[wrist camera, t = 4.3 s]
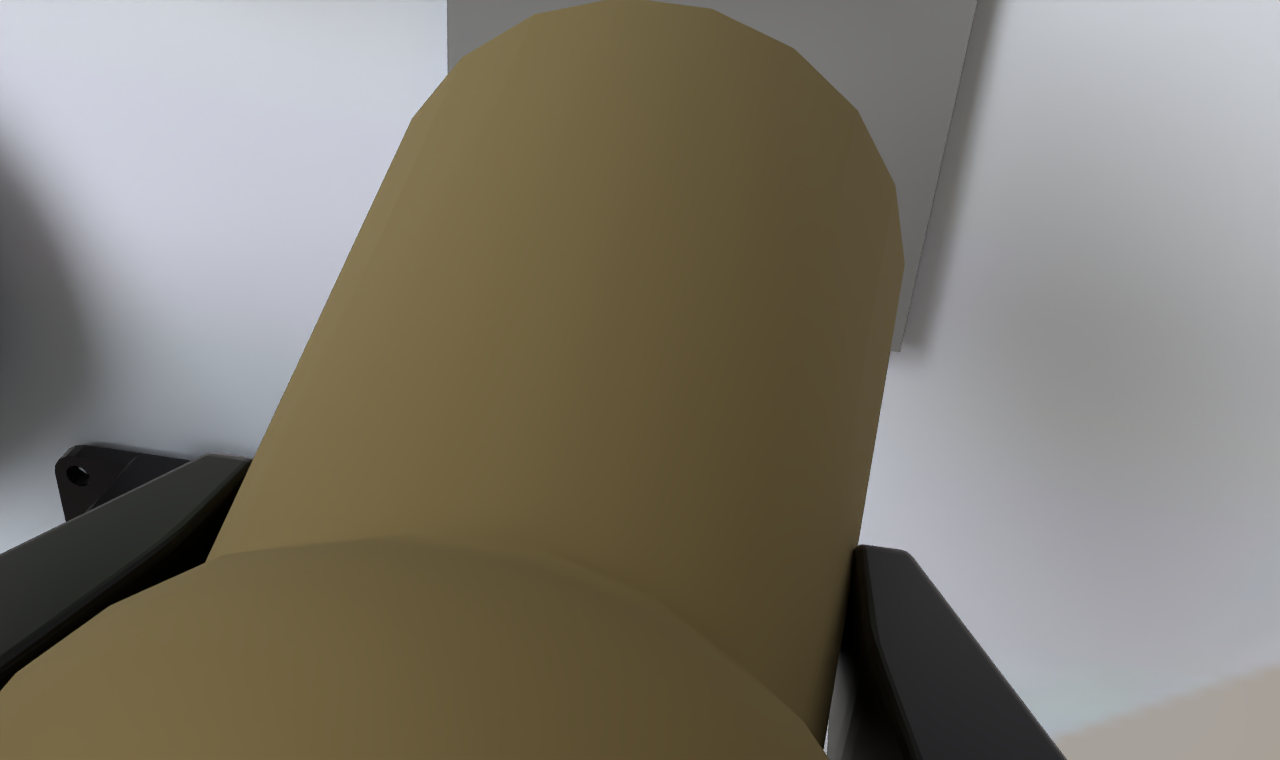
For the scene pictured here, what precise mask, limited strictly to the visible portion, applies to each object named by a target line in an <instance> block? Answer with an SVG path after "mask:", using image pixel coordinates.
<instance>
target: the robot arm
mask: <svg viewBox="0 0 1280 760" xmlns="http://www.w3.org/2000/svg"><path fill="white" fill-rule="evenodd" d="M253 459H254V458H251V457H244V456H237V455H230V454H223V453H208V454H205V455H203V456H201V457H198V458H196V459H194V460H192V461H190V460H183V459H176V458H169V457H162V456H156V455H149V454H142V453H135V452H128V451H121V450H114V449H107V448H100V447H93V446H87V445H76V446H74V447H72V448H70V449H69V450H68V451H67V452H66V453H65V454H64V455H63V456H62V457H61V458H60V459H59V460H58V462H57V463H56V465H55V475H56V479H57V484H58V488H59V493H60V497H61V502H62V506H63V511H64V515H65V520H66V522H65V523H63V524H61V525H59V526H57V527H55V528H53V529H51V530H49V531H47V532H45V533H43V534H41V535H39V536H37V537H35V538H33V539H31V540H28V541H26V542H24V543H22V544H20V545H18V546H16V547H14V548H12V549H10V550H8V551H6V552H4V553H2V554H0V691H1V690H2V689H3V687H4V686H5V685H6V684H7V683H8V682H9V680H10V679H11V678H12V677H13V676H14V675H15V673H17V672H18V671H19V670H21V669H22V668H24V667H25V666H26V665H28V664H29V663H31V662H32V661H33V660H35V659H36V658H38V657H39V656H40V655H42V654H43V653H44V652H46V651H47V650H49V649H50V648H51V647H53V646H54V645H56V644H57V643H58V642H60V641H61V640H63V639H64V638H65V637H67V636H68V635H70V634H71V633H72V632H74V631H75V630H77V629H78V628H79V627H81V626H82V625H84V624H85V623H86V622H88V621H89V620H91V619H92V618H93V617H95V616H96V615H98V614H99V613H100V612H102V611H103V610H104V609H106V608H107V607H109V606H110V605H112V604H115V603H117V602H119V601H121V600H124V599H126V598H128V597H130V596H132V595H135V594H137V593H139V592H141V591H144V590H146V589H148V588H150V587H152V586H155V585H157V584H159V583H161V582H164V581H166V580H168V579H170V578H172V577H175V576H177V575H179V574H181V573H184V572H186V571H188V570H190V569H193V568H195V567H197V566H199V565H201V564H204V563H205V562H206V560H207V557H208V555H209V553H210V551H211V549H212V547H213V545H214V542H215V540H216V538H217V536H218V534H219V532H220V530H221V527H222V525H223V523H224V521H225V519H226V517H227V515H228V512H229V510H230V508H231V506H232V504H233V502H234V500H235V497H236V495H237V493H238V491H239V489H240V487H241V485H242V482H243V480H244V478H245V476H246V474H247V472H248V470H249V467H250V465H251V463H252V461H253ZM79 467H81V468H83V469H84V470H85V471H87V472H88V474H86V473H84V472H83V471H82V470H80V469H79ZM827 757H828V758H829V760H1067V759H1066V758H1065V756H1064V755H1063V754H1062V752H1061V751H1060V750H1059V748H1058V747H1057V746H1056V744H1055V743H1054V742H1053V741H1052V739H1051V738H1050V737H1049V735H1048V734H1047V733H1046V731H1045V730H1044V729H1043V727H1042V726H1041V725H1040V723H1039V722H1038V721H1037V720H1036V718H1035V717H1034V716H1033V714H1032V713H1031V712H1030V710H1029V709H1028V708H1027V706H1026V705H1025V704H1024V702H1023V701H1022V700H1021V698H1020V697H1019V696H1018V695H1017V693H1016V692H1015V691H1014V689H1013V688H1012V687H1011V685H1010V684H1009V683H1008V681H1007V680H1006V679H1005V677H1004V676H1003V675H1002V674H1001V672H1000V671H999V670H998V668H997V667H996V666H995V664H994V663H993V662H992V660H991V659H990V658H989V656H988V655H987V654H986V652H985V651H984V650H983V649H982V647H981V646H980V645H979V643H978V642H977V641H976V639H975V638H974V637H973V635H972V634H971V633H970V631H969V630H968V629H967V627H966V626H965V625H964V624H963V622H962V621H961V620H960V618H959V617H958V616H957V614H956V613H955V612H954V610H953V609H952V608H951V606H950V605H949V604H948V603H947V601H946V600H945V599H944V597H943V596H942V595H941V593H940V592H939V591H938V589H937V588H936V587H935V585H934V584H933V583H932V581H931V580H930V579H929V578H928V576H927V575H926V574H925V572H924V571H923V570H922V568H921V567H920V566H919V564H918V563H917V562H916V560H915V559H914V558H913V557H912V556H911V555H910V554H909V553H908V552H906V551H904V550H899V549H892V548H885V547H878V546H871V545H859V546H857V547H856V548H855V549H854V551H853V564H852V582H851V588H850V594H849V600H848V606H847V612H846V618H845V624H844V630H843V636H842V642H841V648H840V654H839V660H838V666H837V672H836V678H835V684H834V690H833V696H832V702H831V708H830V714H829V725H828V745H827Z"/></svg>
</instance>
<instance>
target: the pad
mask: <svg viewBox="0 0 1280 760" xmlns="http://www.w3.org/2000/svg"><path fill="white" fill-rule="evenodd" d="M598 1H603V0H447V53H448V74H449V73H450V71H451V70H452V69H453V68H454V66H455V65H456V64H457V63H458V62H459V60H460V59H461V58H462V57H463V56H465V55H466V54H468V53H470V52H472V51H473V50H475V49H477V48H478V47H480V46H482V45H483V44H485V43H487V42H488V41H490V40H492V39H493V38H495V37H497V36H498V35H500V34H502V33H504V32H505V31H507V30H509V29H510V28H512V27H514V26H515V25H517V24H519V23H520V22H522V21H524V20H525V19H527V18H529V17H530V16H532V15H534V14H538V13H543V12H548V11H553V10H558V9H563V8H568V7H573V6H578V5H583V4H588V3H593V2H598ZM649 1H657V2H664V3H672V4H680V5H687V6H695V7H703V8H710V9H714V10H716V11H718V12H720V13H722V14H724V15H726V16H728V17H730V18H732V19H734V20H736V21H738V22H740V23H743V24H745V25H747V26H749V27H751V28H753V29H755V30H757V31H759V32H761V33H763V34H765V35H767V36H770V37H772V38H774V39H776V40H778V41H780V42H782V43H784V44H786V45H788V46H790V47H792V48H794V49H795V50H796V51H797V52H798V53H799V54H801V55H802V56H803V57H804V58H805V59H806V60H807V61H808V62H809V63H810V64H811V65H812V66H813V67H814V68H815V69H816V70H817V71H818V72H819V73H820V74H821V75H822V76H823V77H824V78H825V79H826V80H827V81H828V82H829V83H830V84H831V85H832V86H833V87H834V88H835V89H836V90H837V91H838V92H840V93H841V94H842V95H843V96H844V97H845V98H846V99H847V100H848V101H849V102H850V103H851V104H852V105H853V106H854V107H855V108H856V109H857V110H858V112H859V114H860V116H861V118H862V120H863V122H864V124H865V126H866V128H867V130H868V132H869V134H870V136H871V138H872V140H873V142H874V144H875V146H876V148H877V150H878V152H879V154H880V156H881V158H882V160H883V162H884V164H885V165H886V167H887V169H888V171H889V173H890V175H891V177H892V179H893V181H894V183H895V186H896V194H897V202H898V210H899V219H900V227H901V235H902V244H903V252H904V260H905V266H904V272H903V278H902V284H901V290H900V296H899V302H898V308H897V314H896V320H895V326H894V332H893V338H892V344H891V350H890V351H896V352H900V349H901V344H902V340H903V335H904V331H905V326H906V322H907V317H908V313H909V308H910V304H911V299H912V295H913V290H914V286H915V281H916V276H917V272H918V267H919V263H920V258H921V254H922V249H923V245H924V240H925V236H926V231H927V227H928V222H929V218H930V213H931V209H932V204H933V200H934V195H935V191H936V186H937V182H938V177H939V172H940V168H941V163H942V159H943V154H944V150H945V145H946V141H947V136H948V132H949V127H950V123H951V118H952V114H953V109H954V105H955V100H956V96H957V91H958V87H959V82H960V78H961V73H962V69H963V64H964V59H965V55H966V50H967V46H968V41H969V37H970V32H971V28H972V23H973V19H974V14H975V10H976V5H977V1H978V0H649Z"/></svg>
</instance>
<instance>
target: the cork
mask: <svg viewBox="0 0 1280 760" xmlns="http://www.w3.org/2000/svg"><path fill="white" fill-rule="evenodd" d="M904 266H905V260H904V252H903V244H902V235H901V227H900V219H899V210H898V202H897V194H896V186H895V183H894V181H893V179H892V177H891V175H890V173H889V171H888V169H887V167H886V165H885V164H884V162H883V160H882V158H881V156H880V154H879V152H878V150H877V148H876V146H875V144H874V142H873V140H872V138H871V136H870V134H869V132H868V130H867V128H866V126H865V124H864V122H863V120H862V118H861V116H860V114H859V112H858V110H857V109H856V108H855V107H854V106H853V105H852V104H851V103H850V102H849V101H848V100H847V99H846V98H845V97H844V96H843V95H842V94H841V93H840V92H838V91H837V90H836V89H835V88H834V87H833V86H832V85H831V84H830V83H829V82H828V81H827V80H826V79H825V78H824V77H823V76H822V75H821V74H820V73H819V72H818V71H817V70H816V69H815V68H814V67H813V66H812V65H811V64H810V63H809V62H808V61H807V60H806V59H805V58H804V57H803V56H802V55H801V54H799V53H798V52H797V51H796V50H795V49H794V48H792V47H790V46H788V45H786V44H784V43H782V42H780V41H778V40H776V39H774V38H772V37H770V36H767V35H765V34H763V33H761V32H759V31H757V30H755V29H753V28H751V27H749V26H747V25H745V24H743V23H740V22H738V21H736V20H734V19H732V18H730V17H728V16H726V15H724V14H722V13H720V12H718V11H716V10H714V9H710V8H703V7H695V6H687V5H680V4H672V3H664V2H657V1H649V0H603V1H598V2H593V3H588V4H583V5H578V6H573V7H568V8H563V9H558V10H553V11H548V12H543V13H538V14H534V15H532V16H530V17H529V18H527V19H525V20H524V21H522V22H520V23H519V24H517V25H515V26H514V27H512V28H510V29H509V30H507V31H505V32H504V33H502V34H500V35H498V36H497V37H495V38H493V39H492V40H490V41H488V42H487V43H485V44H483V45H482V46H480V47H478V48H477V49H475V50H473V51H472V52H470V53H468V54H466V55H465V56H463V57H462V58H461V59H460V60H459V62H458V63H457V64H456V65H455V66H454V68H453V69H452V70H451V71H450V73H449V74H448V75H447V76H446V78H445V79H444V80H443V81H442V82H441V84H440V85H439V86H438V87H437V89H436V90H435V91H434V92H433V94H432V95H431V96H430V97H429V98H428V100H427V101H426V102H425V103H424V105H423V106H422V107H421V108H420V110H419V111H418V112H417V113H416V114H415V116H414V117H413V118H412V120H411V122H410V124H409V126H408V129H407V131H406V133H405V135H404V137H403V139H402V141H401V144H400V146H399V148H398V150H397V152H396V154H395V156H394V159H393V161H392V163H391V165H390V167H389V169H388V171H387V174H386V176H385V178H384V180H383V182H382V184H381V186H380V189H379V191H378V193H377V195H376V197H375V199H374V201H373V204H372V206H371V208H370V210H369V212H368V214H367V216H366V219H365V221H364V223H363V225H362V227H361V229H360V231H359V234H358V236H357V238H356V240H355V242H354V244H353V246H352V249H351V251H350V253H349V255H348V257H347V259H346V261H345V264H344V266H343V268H342V270H341V272H340V274H339V277H338V279H337V281H336V283H335V285H334V287H333V289H332V292H331V294H330V296H329V298H328V300H327V302H326V304H325V307H324V309H323V311H322V313H321V315H320V317H319V319H318V322H317V324H316V326H315V328H314V330H313V332H312V334H311V337H310V339H309V341H308V343H307V345H306V347H305V349H304V352H303V354H302V356H301V358H300V360H299V362H298V364H297V367H296V369H295V371H294V373H293V375H292V377H291V379H290V382H289V384H288V386H287V388H286V390H285V392H284V394H283V397H282V399H281V401H280V403H279V405H278V407H277V409H276V412H275V414H274V416H273V418H272V420H271V422H270V424H269V427H268V429H267V431H266V433H265V435H264V437H263V439H262V442H261V444H260V446H259V448H258V450H257V452H256V455H255V457H254V459H253V461H252V463H251V465H250V467H249V470H248V472H247V474H246V476H245V478H244V480H243V482H242V485H241V487H240V489H239V491H238V493H237V495H236V497H235V500H234V502H233V504H232V506H231V508H230V510H229V512H228V515H227V517H226V519H225V521H224V523H223V525H222V527H221V530H220V532H219V534H218V536H217V538H216V540H215V542H214V545H213V547H212V549H211V551H210V553H209V555H208V557H207V560H206V562H205V563H204V564H201V565H199V566H197V567H195V568H193V569H190V570H188V571H186V572H184V573H181V574H179V575H177V576H175V577H172V578H170V579H168V580H166V581H164V582H161V583H159V584H157V585H155V586H152V587H150V588H148V589H146V590H144V591H141V592H139V593H137V594H135V595H132V596H130V597H128V598H126V599H124V600H121V601H119V602H117V603H115V604H112V605H110V606H109V607H107V608H106V609H104V610H103V611H102V612H100V613H99V614H98V615H96V616H95V617H93V618H92V619H91V620H89V621H88V622H86V623H85V624H84V625H82V626H81V627H79V628H78V629H77V630H75V631H74V632H72V633H71V634H70V635H68V636H67V637H65V638H64V639H63V640H61V641H60V642H58V643H57V644H56V645H54V646H53V647H51V648H50V649H49V650H47V651H46V652H44V653H43V654H42V655H40V656H39V657H38V658H36V659H35V660H33V661H32V662H31V663H29V664H28V665H26V666H25V667H24V668H22V669H21V670H19V671H18V672H17V673H15V675H14V676H13V677H12V678H11V679H10V680H9V682H8V683H7V684H6V685H5V686H4V687H3V689H2V690H1V691H0V760H829V758H828V757H827V755H826V754H825V752H824V751H823V749H824V743H825V737H826V731H827V725H828V719H829V714H830V708H831V702H832V696H833V690H834V684H835V678H836V672H837V666H838V660H839V654H840V648H841V642H842V636H843V630H844V624H845V618H846V612H847V606H848V600H849V594H850V588H851V582H852V564H853V551H854V549H855V548H856V547H857V546H858V541H859V535H860V529H861V523H862V517H863V511H864V505H865V499H866V493H867V487H868V481H869V475H870V469H871V463H872V457H873V451H874V445H875V439H876V433H877V427H878V421H879V415H880V409H881V404H882V398H883V392H884V386H885V380H886V374H887V368H888V362H889V356H890V350H891V344H892V338H893V332H894V326H895V320H896V314H897V308H898V302H899V296H900V290H901V284H902V278H903V272H904Z"/></svg>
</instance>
